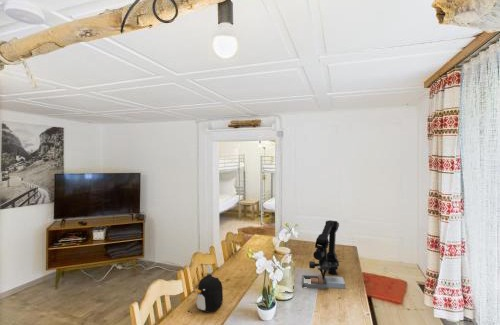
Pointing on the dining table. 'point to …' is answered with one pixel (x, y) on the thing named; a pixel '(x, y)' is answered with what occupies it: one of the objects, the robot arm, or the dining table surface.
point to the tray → (318, 286)
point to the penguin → (209, 293)
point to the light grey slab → (335, 282)
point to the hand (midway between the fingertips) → (323, 277)
